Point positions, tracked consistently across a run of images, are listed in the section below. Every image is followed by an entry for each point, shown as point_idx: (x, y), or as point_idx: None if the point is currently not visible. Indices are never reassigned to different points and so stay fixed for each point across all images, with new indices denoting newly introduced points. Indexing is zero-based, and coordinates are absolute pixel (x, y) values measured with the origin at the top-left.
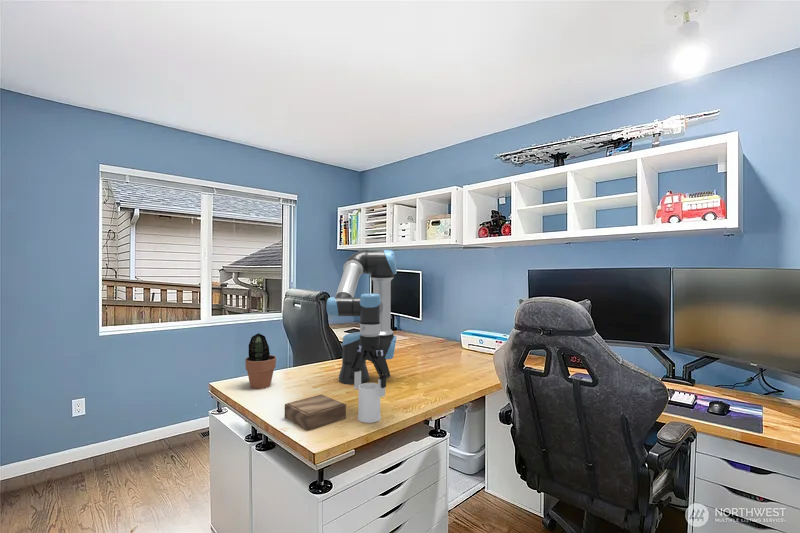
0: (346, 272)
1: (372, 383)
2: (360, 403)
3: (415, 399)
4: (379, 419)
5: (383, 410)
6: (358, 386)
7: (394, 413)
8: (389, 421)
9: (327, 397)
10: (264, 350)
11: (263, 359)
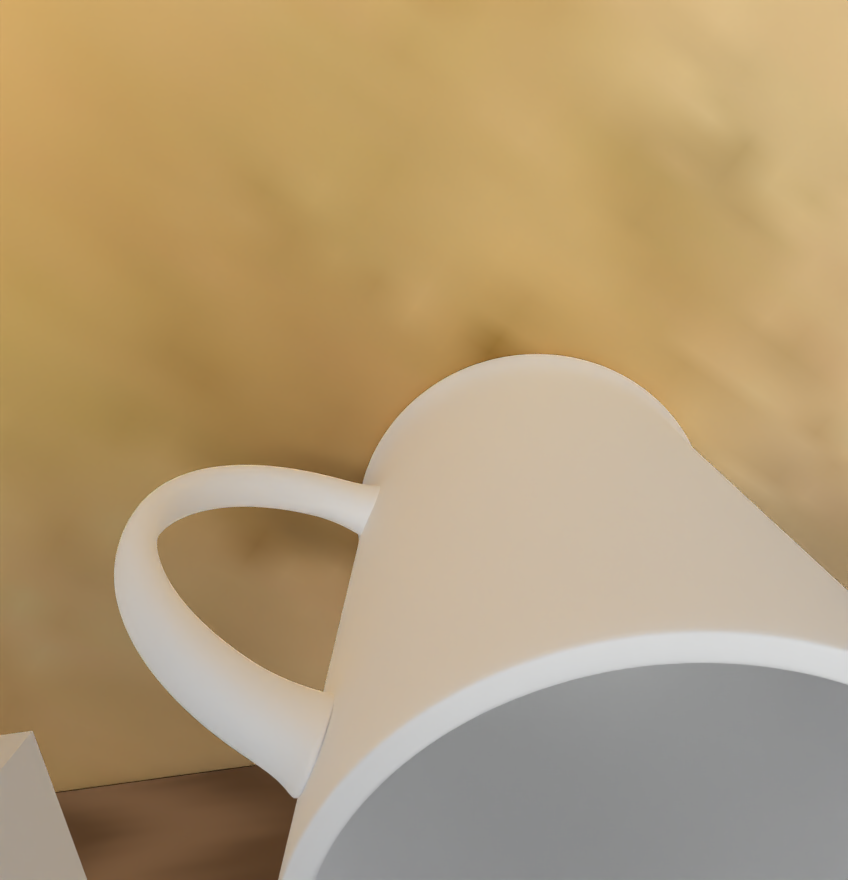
0: None
1: (422, 746)
2: (584, 859)
3: None
4: (691, 445)
5: (362, 146)
6: (27, 854)
7: (598, 54)
8: (817, 336)
9: None
10: None
11: None
